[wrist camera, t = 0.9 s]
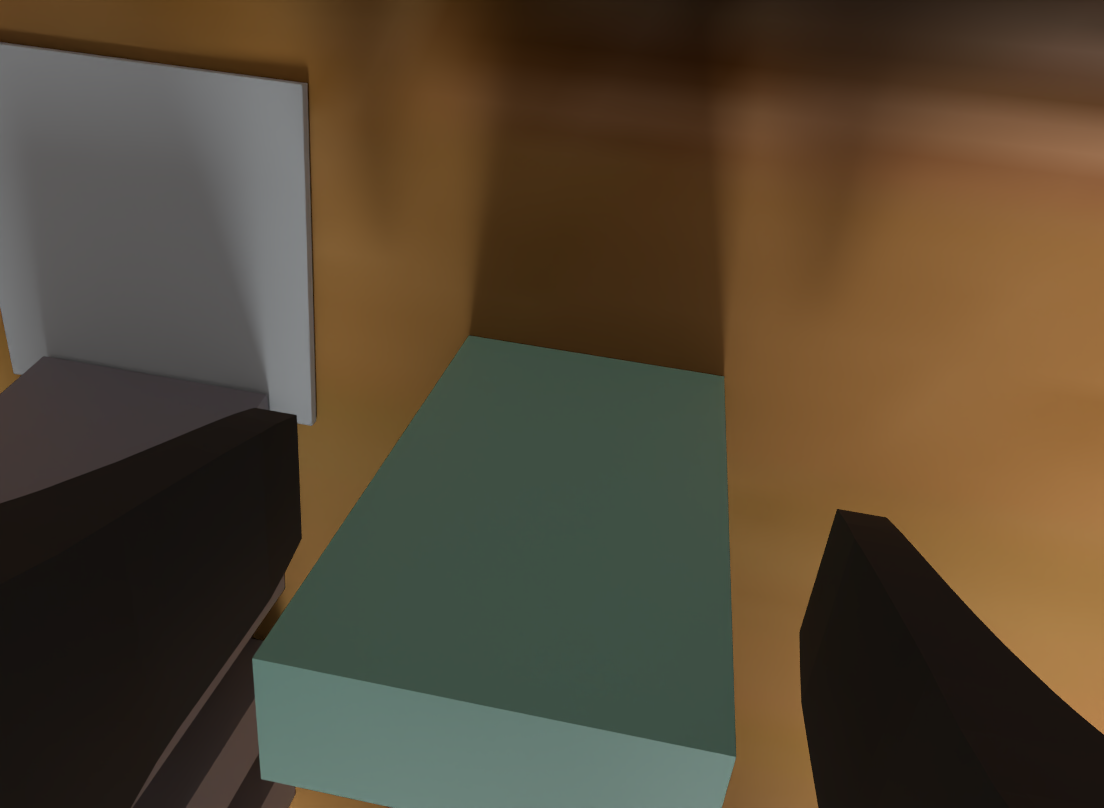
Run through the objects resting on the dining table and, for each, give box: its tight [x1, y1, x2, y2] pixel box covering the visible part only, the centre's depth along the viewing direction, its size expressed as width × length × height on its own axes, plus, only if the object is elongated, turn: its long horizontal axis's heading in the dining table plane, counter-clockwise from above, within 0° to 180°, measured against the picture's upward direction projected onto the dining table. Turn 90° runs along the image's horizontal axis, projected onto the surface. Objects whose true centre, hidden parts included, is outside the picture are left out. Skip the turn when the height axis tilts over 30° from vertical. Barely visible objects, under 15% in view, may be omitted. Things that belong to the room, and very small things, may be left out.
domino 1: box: [0, 356, 269, 503], centre depth 13 cm, size 2×4×8 cm, turn 85°
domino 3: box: [252, 336, 736, 808], centre depth 12 cm, size 2×4×8 cm, turn 84°
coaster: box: [0, 42, 316, 426], centre depth 15 cm, size 6×6×1 cm
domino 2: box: [133, 638, 263, 808], centre depth 16 cm, size 2×4×8 cm, turn 84°
